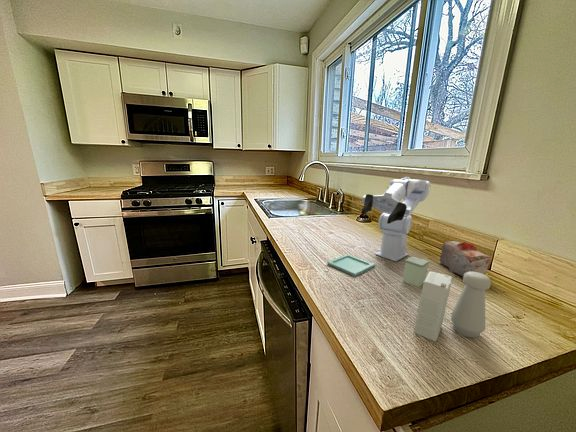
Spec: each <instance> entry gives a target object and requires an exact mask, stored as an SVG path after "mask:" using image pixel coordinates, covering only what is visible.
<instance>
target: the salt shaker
mask: <svg viewBox="0 0 576 432" xmlns="http://www.w3.org/2000/svg"><path fill="white" fill-rule="evenodd" d="M462 281H463V283H464V284H465V285H464V286H463V288H462V291H461V292H460V294H459V297H458V299H457V301H456V304H455V306H454V307H453V310H452V311H451V314H450V315H451V316H450V321H451V323H452V324H453V328H454V330H455V332H456V333H458V334H460V335H462V336H463V337H465V338H471V339H476V338H477V337H478V336H479V335H480V334H482V333H483V332H484V331H485V330H486V291H487V290H489V289H490V287H491V285H492V281H491V278H490V277H489V276H487V275H486V274H485V275H484V274H482V273H478V272H467V273H465V274H464V277H463V276H462Z"/></svg>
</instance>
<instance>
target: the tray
mask: <svg viewBox="0 0 576 432" xmlns="http://www.w3.org/2000/svg"><path fill="white" fill-rule="evenodd" d="M326 264H327V265H328V266H330V267H331V268H332V267H333V268H335V269H336V270H339V271H341V272H343V273H346V274H347V275H350V276H353V278H354V277H355V278H356V277H358V276H360V275H361V274H364V273H365V272H367V271H369V270H372V269H373V268H375V266H376V264H375V263H373V262H370V261H368V260H365V259H362V258H359V257H357V256H355V255H351V254H349V253H347V254H344V255H342V256H339V257H337V258H334V259H332V260H329V261H327V263H326Z"/></svg>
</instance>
